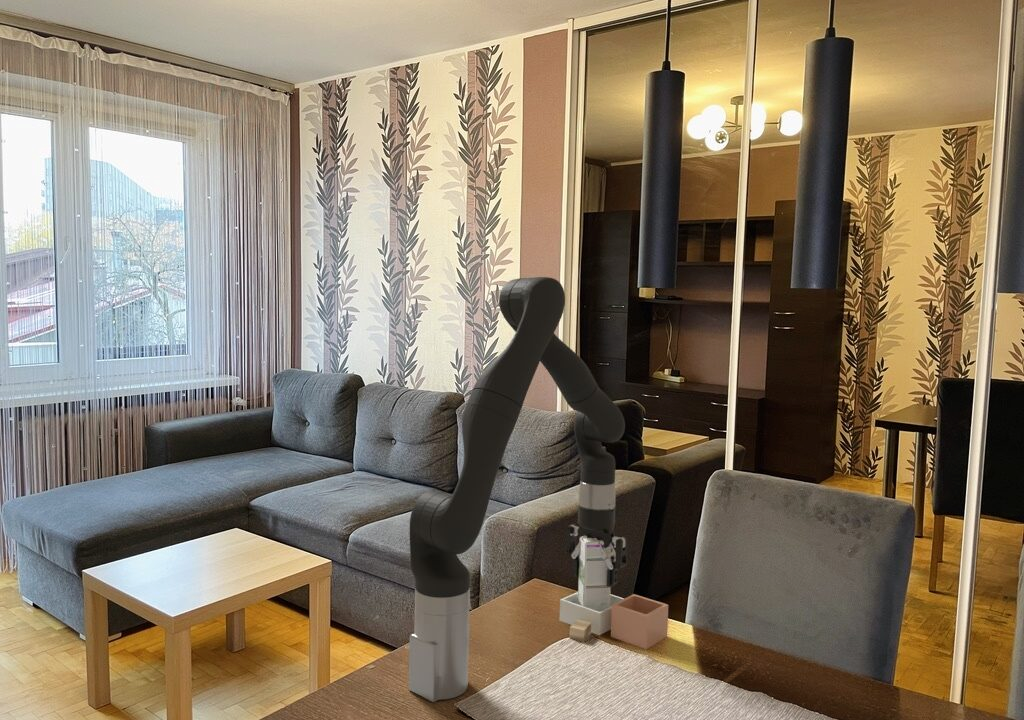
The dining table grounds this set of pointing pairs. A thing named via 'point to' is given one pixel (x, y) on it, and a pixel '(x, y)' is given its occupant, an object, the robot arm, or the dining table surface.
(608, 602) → the syrup box
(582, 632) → the beech block
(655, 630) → the open box
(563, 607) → the bin
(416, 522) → the robot arm
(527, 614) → the dining table surface
